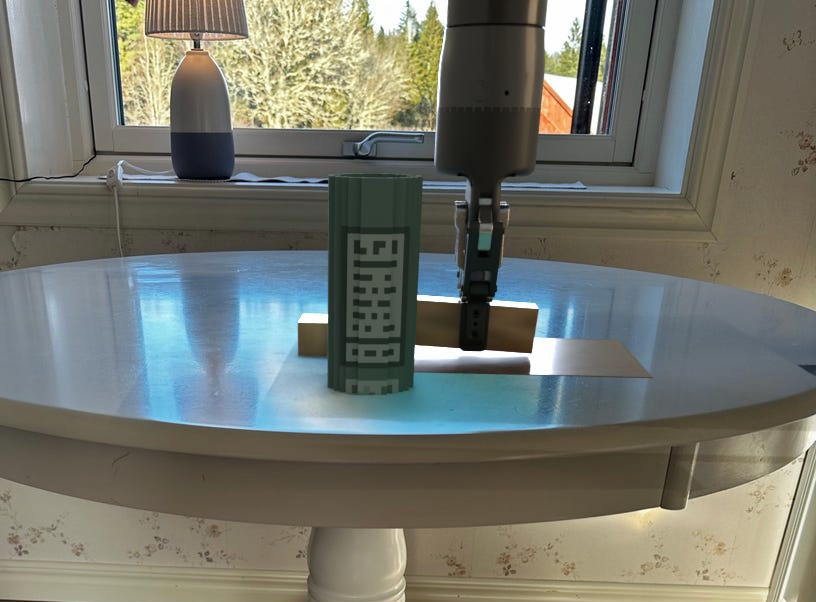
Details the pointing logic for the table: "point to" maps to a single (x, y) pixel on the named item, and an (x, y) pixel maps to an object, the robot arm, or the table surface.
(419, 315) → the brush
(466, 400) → the table surface
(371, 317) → the can
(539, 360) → the board
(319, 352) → the cork block
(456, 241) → the robot arm
